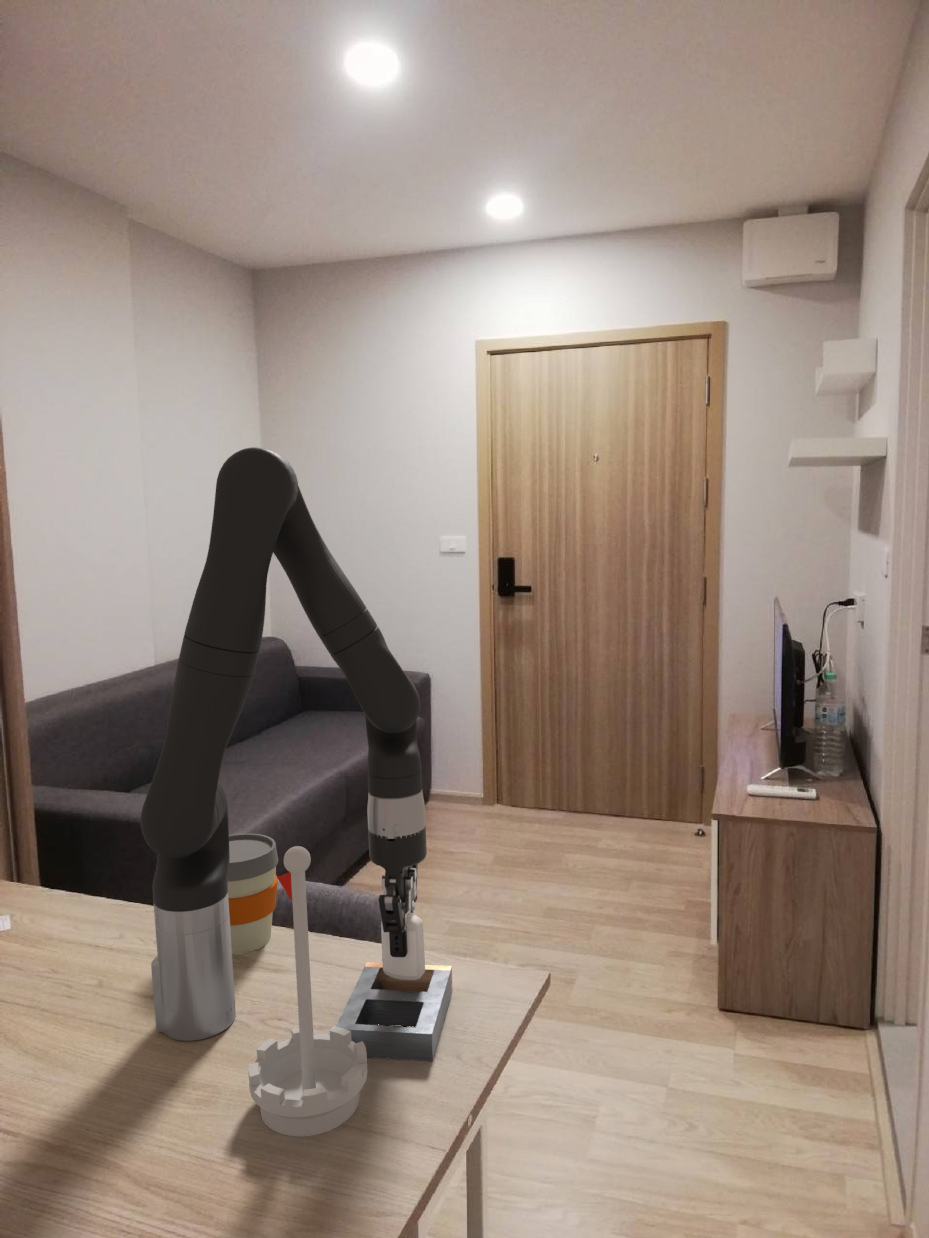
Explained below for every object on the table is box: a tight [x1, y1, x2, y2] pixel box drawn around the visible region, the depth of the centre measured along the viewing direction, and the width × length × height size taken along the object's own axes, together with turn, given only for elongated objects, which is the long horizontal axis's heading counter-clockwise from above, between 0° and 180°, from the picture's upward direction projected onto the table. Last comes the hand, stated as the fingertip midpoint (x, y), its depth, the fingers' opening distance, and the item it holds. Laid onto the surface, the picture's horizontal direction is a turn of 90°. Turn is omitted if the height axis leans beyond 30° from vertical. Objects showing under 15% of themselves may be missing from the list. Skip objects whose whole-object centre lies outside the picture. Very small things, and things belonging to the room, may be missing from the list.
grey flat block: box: [335, 961, 454, 1062], centre depth 116 cm, size 12×16×4 cm
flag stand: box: [247, 845, 368, 1137], centre depth 99 cm, size 13×13×30 cm
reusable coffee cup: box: [228, 833, 279, 955], centre depth 138 cm, size 13×13×15 cm
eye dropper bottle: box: [380, 903, 426, 980], centre depth 118 cm, size 4×6×12 cm
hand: (402, 947), depth 119 cm, fingers closed on eye dropper bottle, 3 cm apart
